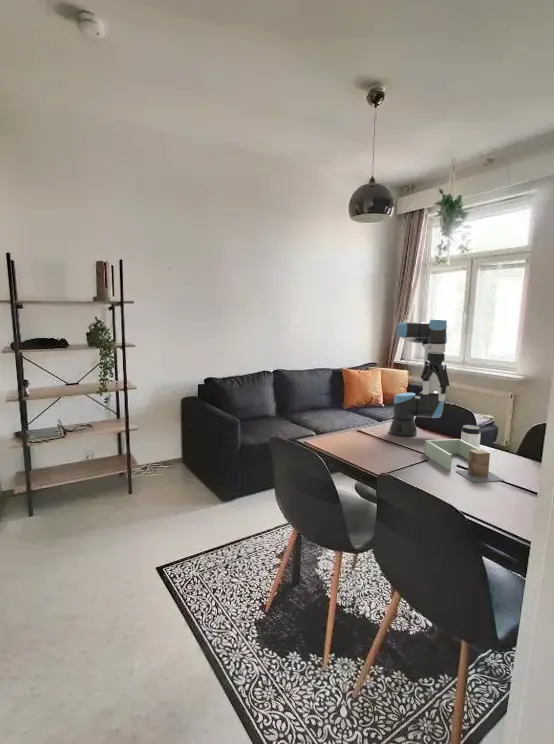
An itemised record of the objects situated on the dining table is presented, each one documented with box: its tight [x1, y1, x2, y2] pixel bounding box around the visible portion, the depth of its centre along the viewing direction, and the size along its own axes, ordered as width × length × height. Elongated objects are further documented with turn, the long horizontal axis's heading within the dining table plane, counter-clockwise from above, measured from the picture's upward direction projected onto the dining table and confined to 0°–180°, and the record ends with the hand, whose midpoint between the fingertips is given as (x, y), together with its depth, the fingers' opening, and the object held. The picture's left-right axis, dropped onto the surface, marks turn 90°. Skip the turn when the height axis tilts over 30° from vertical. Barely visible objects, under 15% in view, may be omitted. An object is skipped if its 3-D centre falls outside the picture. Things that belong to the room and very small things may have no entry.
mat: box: [455, 469, 505, 484], centre depth 171 cm, size 12×14×1 cm
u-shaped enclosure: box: [423, 438, 481, 471], centre depth 189 cm, size 21×18×7 cm
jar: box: [460, 424, 482, 449], centre depth 204 cm, size 9×8×12 cm
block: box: [467, 449, 491, 477], centre depth 172 cm, size 5×6×10 cm
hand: (433, 397), depth 192 cm, fingers open, 13 cm apart
